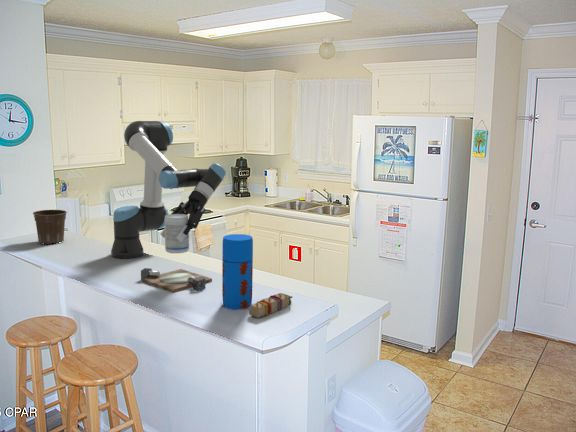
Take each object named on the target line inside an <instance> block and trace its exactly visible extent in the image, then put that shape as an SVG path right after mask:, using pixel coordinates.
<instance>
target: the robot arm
mask: <svg viewBox="0 0 576 432" xmlns="http://www.w3.org/2000/svg"><path fill="white" fill-rule="evenodd" d="M123 133H124V134H123V138H124V142H125V144H126V145H127V147H128V148H129V149H131V151H133V152H136V153H137V154H138V156H140V157H141V158H142V159H143V160H144V181H143V182H144V183H143V184H144V185H143V186H144V187H143V200H141V202H139V203H140V204H139V206H137V205H125V206H120V207H118V208H116V209H114V211H113V216H112V217H113V219H112V220H113V233H114V234H113V238H114V239H113V242H112V248H111V250H110V257H113V258H116V259H134V258H139V257H142V256H144V247H143V245H142V242H141V240H140V239H141V238H140V233H141V232H148V231H157V230H160V229H161V232H160V236H161V237H162V238H164V239H165V224H164V221H165V220H164V219H165V216H166V215H169V212H168V211H169V210H168V208H167V207H166V206H165V203H164V202H163V201H162V198H163V196H162V195H163V189H165V190H166V189H170V190H173V189H180V188H181V189H182V188H191V187H192V188H193V190H192V191H191V193H190V194H189V196H188V197H187V198H188V201H186V202H183V201H181V202H180V203H179V205H178V206H177V207H176V208H175V209H174V210H173V211H172V212H171V213H170V214H185V215H189V216H188V223H187V224H186V225H185V226H184V228H183V229H182V230H181V232H180V233H179V235H178V236H177V238H176V239H177V240H178V241H179V242H182V241H183V239H184V238H185V236H186V235H187V234H188V233H189V234H190V232H191V230H193V229H195V230H196V229H197V228H198V226H199V223H200V222H201V218H202V217H203V214H204V213H205V212H206V210H207V209H206V208H205V206H206V205H207V203H208V201H209V200H210V198H211V197H212V195H213V194H214V193H215V192H216V190H217V189H218V187H219V185H220V184H221V183H222V181H224V179H225V177H226V175H227V172H226V169H225V168H224V167H223V166H222V165H220V164H218V163H215V162H214V163H213V162H212V163H211V165H210V166H209V167H208V168H191V169H178V168H176V167H175V166H174V165H173V164H172V163H171V162H170V161H169V160H168V158H167V157H165V153H167V152H168V147H169V146H171V145H172V143H173V142H174V141H173V140H174V134H173V130H172V128H171V125H170V124H168V122H165V121H161V120H159V121H158V120H135V121H132V122H131V123H129V124H128V125H127V126H126V127H125V130H124V132H123Z"/></svg>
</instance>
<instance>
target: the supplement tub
mask: <svg viewBox="0 0 576 432" xmlns="http://www.w3.org/2000/svg"><path fill="white" fill-rule="evenodd" d="M168 214H169V213H168ZM188 215H189V214H188ZM188 215H185V214H171V213H170V214H169V215H166V216H165V219H164V220H165V221H164V224H165V226H164V228H165V238H164V248H165V252H166V253H168V254H184V253H187V252H188V251H189V250H190V232H189V233H188V234H187V235H186V236H185V238H184V239H183V241H182V242H179V241H178V240H177V239H176V238H177V236H178V235H179V233H180V232H181V230H182V229H183V228H184V226H185V225H186V224H187V223H188V219H189V216H188Z"/></svg>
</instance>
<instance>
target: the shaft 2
mask: <svg viewBox="0 0 576 432" xmlns="http://www.w3.org/2000/svg"><path fill="white" fill-rule="evenodd" d="M188 283H191V284H193V287H192V290H194V291H201V290H204V289H206V283H205V278H202V277H199V278H192V277H189V278H188Z"/></svg>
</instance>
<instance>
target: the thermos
mask: <svg viewBox="0 0 576 432" xmlns="http://www.w3.org/2000/svg"><path fill="white" fill-rule="evenodd" d="M221 259H222V261H221V262H222V270H221V271H222V272H221V273H222V275H221V277H222V280H221V281H222V289H221V290H222V293H221V294H222V306H223V307H224V308H227V309H230V310H244V309H249V306H250V305H252V304H253V273H254V272H253V268H254V266H253V265H254V264H253V263H254V239H253V236H252V235H249V234H242V233H240V234H239V233H237V234H235V233H233V234H225V235H223V237H222V258H221Z"/></svg>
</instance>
